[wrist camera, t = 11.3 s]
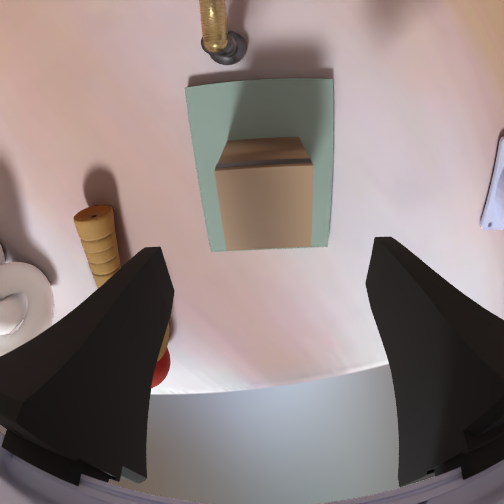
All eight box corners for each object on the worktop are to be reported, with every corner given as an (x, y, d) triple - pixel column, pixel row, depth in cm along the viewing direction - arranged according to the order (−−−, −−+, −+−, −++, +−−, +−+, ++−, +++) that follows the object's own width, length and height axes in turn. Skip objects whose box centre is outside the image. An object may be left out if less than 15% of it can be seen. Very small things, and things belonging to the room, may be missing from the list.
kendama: (64, 202, 20) (116, 358, 29) (28, 234, 15) (107, 403, 23) (150, 190, 21) (183, 355, 30) (132, 220, 16) (182, 403, 24)
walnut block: (298, 136, 15) (313, 165, 11) (300, 199, 18) (311, 247, 14) (226, 140, 16) (213, 170, 12) (234, 203, 18) (226, 251, 14)
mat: (330, 78, 14) (332, 79, 13) (326, 241, 20) (327, 246, 20) (187, 87, 14) (184, 87, 14) (212, 246, 21) (211, 252, 20)
